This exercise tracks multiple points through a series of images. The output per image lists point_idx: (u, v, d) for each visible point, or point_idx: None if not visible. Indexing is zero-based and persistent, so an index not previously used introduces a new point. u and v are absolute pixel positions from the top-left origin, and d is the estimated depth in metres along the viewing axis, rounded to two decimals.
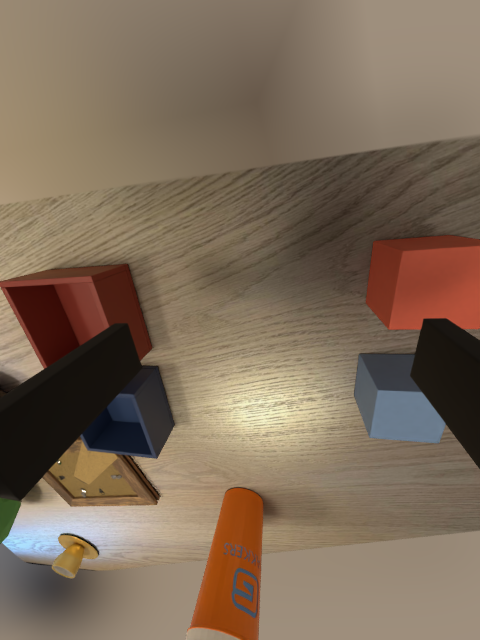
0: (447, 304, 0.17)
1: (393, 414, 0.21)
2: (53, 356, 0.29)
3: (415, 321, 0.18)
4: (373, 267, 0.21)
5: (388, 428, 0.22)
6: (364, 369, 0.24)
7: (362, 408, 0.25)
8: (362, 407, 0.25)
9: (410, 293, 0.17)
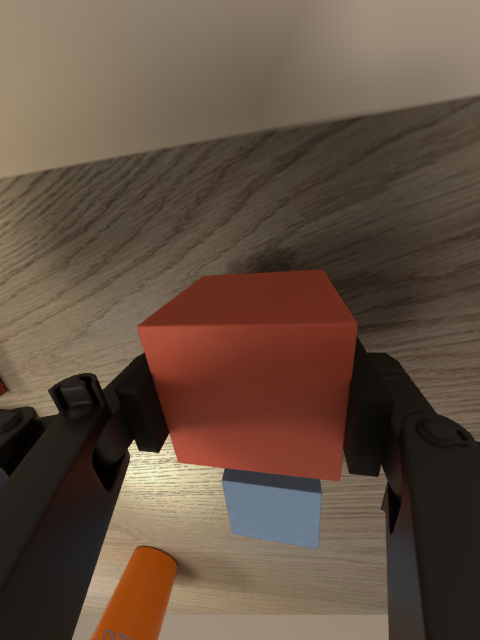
0: (264, 435, 0.08)
1: (251, 510, 0.15)
2: None
3: (217, 455, 0.09)
4: None
5: (250, 525, 0.16)
6: None
7: None
8: None
9: (187, 408, 0.08)
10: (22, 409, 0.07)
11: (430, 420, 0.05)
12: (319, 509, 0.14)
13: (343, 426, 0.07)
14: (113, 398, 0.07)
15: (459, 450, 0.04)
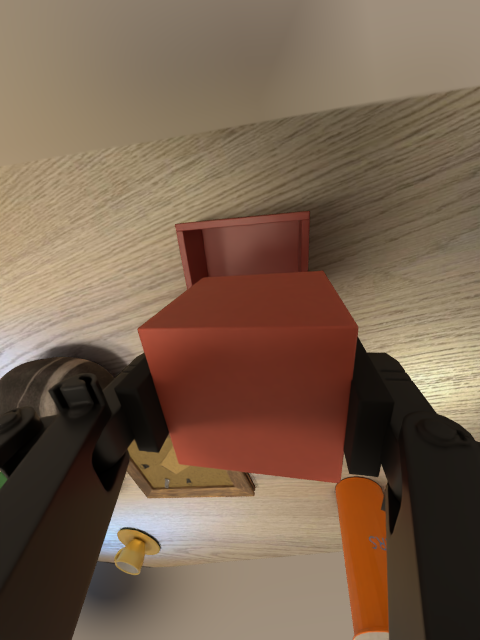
0: (264, 437, 0.08)
1: None
2: None
3: (217, 457, 0.09)
4: None
5: None
6: None
7: None
8: None
9: (187, 410, 0.08)
10: (22, 409, 0.07)
11: (430, 420, 0.05)
12: None
13: (343, 428, 0.07)
14: (113, 398, 0.07)
15: (459, 450, 0.04)
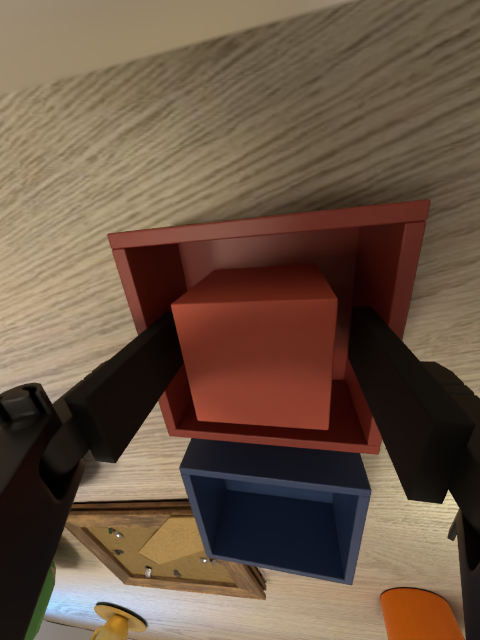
0: (268, 391, 0.10)
1: None
2: (181, 402, 0.14)
3: (230, 412, 0.11)
4: None
5: None
6: None
7: None
8: None
9: (207, 372, 0.10)
10: None
11: None
12: None
13: (329, 381, 0.09)
14: (67, 407, 0.07)
15: None
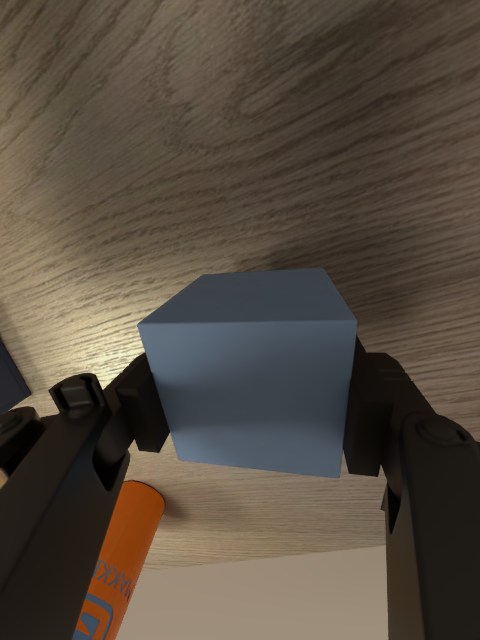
0: None
1: (205, 398, 0.08)
2: None
3: None
4: None
5: (208, 436, 0.08)
6: None
7: None
8: None
9: None
10: (22, 409, 0.07)
11: (430, 420, 0.05)
12: (349, 371, 0.06)
13: None
14: (113, 398, 0.07)
15: (459, 450, 0.04)
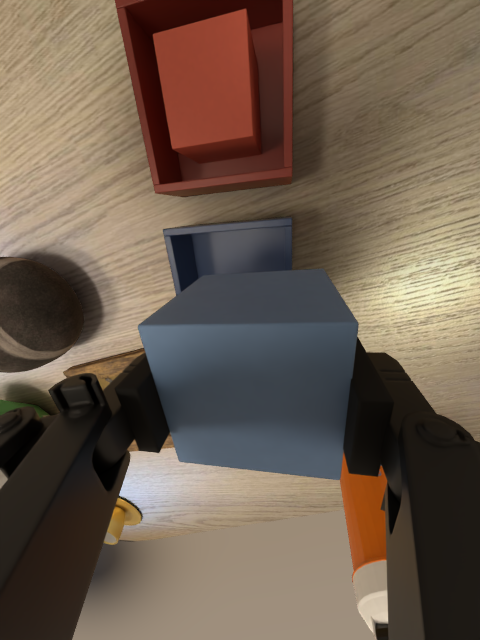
0: (214, 105, 0.16)
1: (205, 400, 0.08)
2: (164, 174, 0.20)
3: (192, 133, 0.16)
4: None
5: (209, 438, 0.08)
6: None
7: None
8: None
9: (176, 94, 0.16)
10: (23, 409, 0.07)
11: (429, 420, 0.05)
12: (350, 373, 0.06)
13: (248, 84, 0.15)
14: (113, 398, 0.07)
15: (458, 450, 0.04)
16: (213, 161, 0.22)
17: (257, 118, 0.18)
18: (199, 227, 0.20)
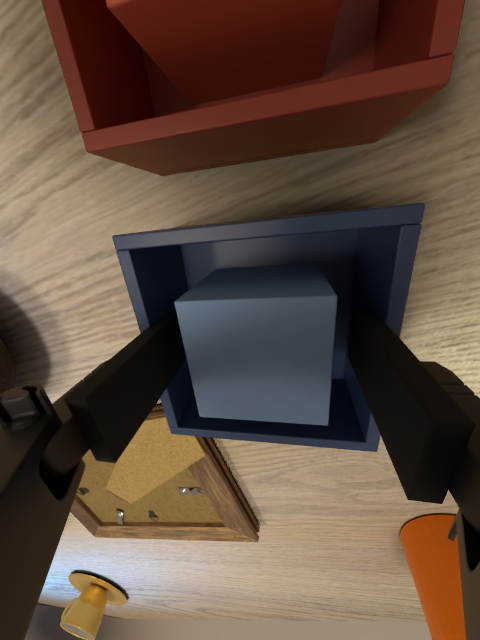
0: None
1: (223, 361, 0.10)
2: (111, 111, 0.09)
3: None
4: None
5: (225, 394, 0.10)
6: None
7: None
8: None
9: None
10: None
11: None
12: (332, 334, 0.08)
13: None
14: (67, 408, 0.07)
15: None
16: (220, 97, 0.11)
17: None
18: (191, 230, 0.09)
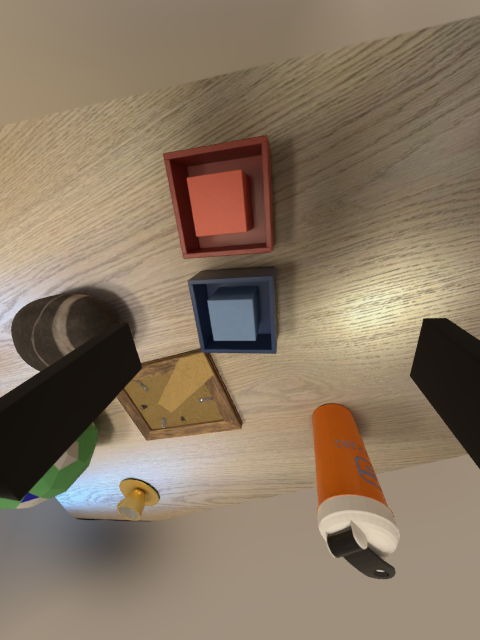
0: (222, 215, 0.26)
1: (222, 319, 0.31)
2: (189, 245, 0.30)
3: (209, 229, 0.27)
4: None
5: (222, 331, 0.32)
6: None
7: None
8: None
9: (200, 208, 0.26)
10: None
11: None
12: (252, 310, 0.30)
13: (243, 206, 0.25)
14: None
15: None
16: None
17: (249, 212, 0.28)
18: (212, 280, 0.30)
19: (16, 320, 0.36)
